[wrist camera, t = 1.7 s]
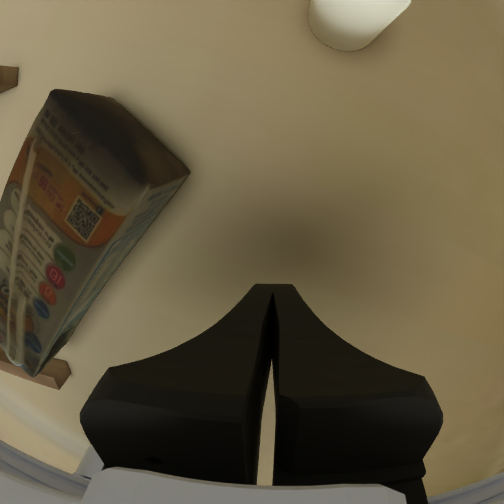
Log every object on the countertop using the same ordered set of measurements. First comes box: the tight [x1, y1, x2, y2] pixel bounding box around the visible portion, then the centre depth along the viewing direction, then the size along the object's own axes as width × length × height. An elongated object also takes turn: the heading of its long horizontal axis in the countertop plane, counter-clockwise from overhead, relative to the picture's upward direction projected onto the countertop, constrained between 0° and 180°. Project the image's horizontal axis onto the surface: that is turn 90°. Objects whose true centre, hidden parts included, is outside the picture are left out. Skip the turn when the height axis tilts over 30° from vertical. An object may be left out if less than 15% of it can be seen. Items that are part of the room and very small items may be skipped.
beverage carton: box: [0, 89, 190, 378], centre depth 17 cm, size 8×19×7 cm, turn 137°
